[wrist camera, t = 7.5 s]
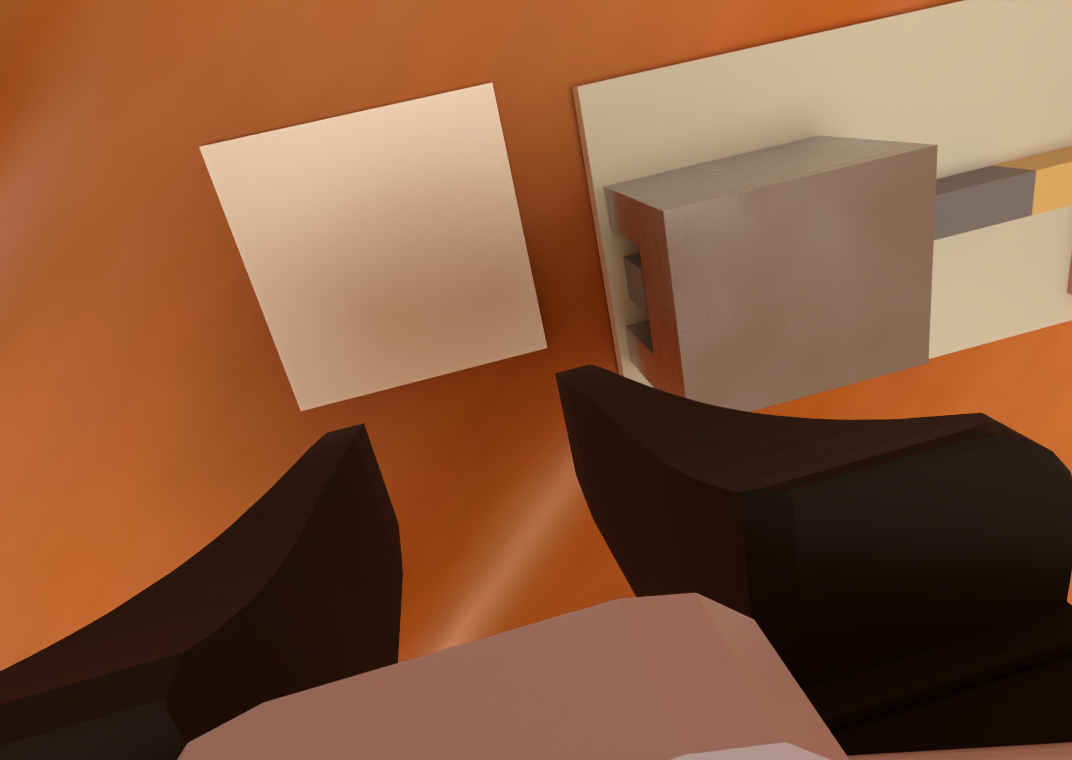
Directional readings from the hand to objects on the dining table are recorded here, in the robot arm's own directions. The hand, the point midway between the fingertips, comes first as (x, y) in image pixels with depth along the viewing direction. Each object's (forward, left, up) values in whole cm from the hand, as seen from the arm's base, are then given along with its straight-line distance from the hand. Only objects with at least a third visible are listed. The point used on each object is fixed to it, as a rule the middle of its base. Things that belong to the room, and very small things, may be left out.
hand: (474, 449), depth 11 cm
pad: (+2, +1, -8) cm, 8 cm away
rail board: (0, -12, -8) cm, 14 cm away
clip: (0, -8, -7) cm, 11 cm away
